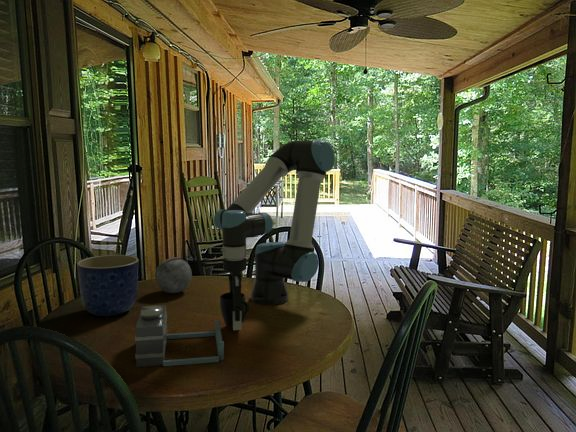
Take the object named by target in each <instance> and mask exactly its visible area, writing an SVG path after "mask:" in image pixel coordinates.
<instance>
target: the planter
mask: <svg viewBox="0 0 576 432" xmlns="http://www.w3.org/2000/svg"><path fill="white" fill-rule="evenodd" d="M139 261H140V260H139V258H138V257H136V256H133V255H128V254H127V255H125V254H107V255H97V256H96V255H95V256H91V257H87V258H84V259H81V260H79V261H78V262H77V263H76V269H77V277H78V282H79V283H78V285H79V290H80V291H79V292H80V293H79V294H80V299H81V303H82V306H83V307H84V309H85V310H86V312H88V313H89V314H91V315H94V316H97V317H114V316H118V315H122V314H123V313H126V312H127V311H129V310H130V309H131V308H132V307H133V306H134V305H135V302H136V299H137V295H138V285H139V282H138V281H139V265H140V264H139Z"/></svg>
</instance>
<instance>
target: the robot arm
mask: <svg viewBox="0 0 576 432" xmlns="http://www.w3.org/2000/svg"><path fill="white" fill-rule="evenodd" d="M335 161H336V159H335V152H334V149H333V147H332V145H331V144H330V143H329V142H328V141H326V140H320V139H313V140H311V139H310V140H291V141H289V142H287V143H285V144H283V145H282V146H280V147H279V148H278V149H277V150H276V151H274V152H273V153H272V154H271V155H270V156H269V158H268V159H267V160H266V164H265V166H264V167H263V168H262V169H261V171H259V173H257V175H256V176H255V177H254V178H253V179H252V180H251V181H250V182H249V184H248V185H247V186H246V187H245V188H244V189H243V190H242V192H240V194H239V195H238V196H237V197H236V198H235V199H234V200H233V201H232V203H231V204H230V205H229V206H228V207H227V208H225V209H224V208H223V209H218V210H217V211H216V212H215V214H214V217H213V222H214V226H215V228H217V230H221V232H222V234H221V235H222V236H221V237H222V248H220V251H221V252H222V257H223V259H222V265H223V266H222V269H223V271H224V272H226V273H229V274H228V284H229V289H228V290H229V291H228V293H229V292H230V294H232V295H233V309H231V311H233V326H232V331H241V330H243V327H242V325H243V323H242V316H241V311H242V299H241V293H242V281H243V278H242V274H241V272H245V271H246V270H247V259H246V257H247V239H248V238H253V237H258V236H264V235H266V234H268V233H270V232H271V231H272V229H273V226H274V221H273V218H272V216H271V215H270V214H269V213H268V212H258V213H254V212H253V211H254V210H255V209H256V208H257V207H258V205H259V204H260V203H261V202H262V201H263V199H264V198H265V197H266V196H267V194H269V192H270V191H271V190H272V189H273V187H275V185H276V184H277V183H278V182H279V181H280V179H281V178H284V177H287V175H288V174H289V173H290V172H293V171H295V174H296V175H297V177H298V182H297V186H296V187H297V189H296V194H295V195H296V196H295V199H294V206H293V207H294V208H293V214H292V220H291V226H290V233H289V239H288V240H287V241H284V242H283V241H272V242H262V243H259V244H257V245H256V247H255V254H254V262H255V263H254V265H255V266H254V267H255V269H254V271H255V272H254V273H255V275H254V276H255V278H254V279H255V280H254V283H253V286H252V289H251V292H250V300H251V301H252V302H253V303H255V304H259V305H269V306H271V305H279V304H283V303H286V302H288V300H289V292H288V289H287V285H286V283H285V279H287V280H292V281H294V282H300V283H306V282H308V281H310V280H311V279H313V277H314V276H315V275H316V273H317V271H318V269H319V263H320V260H319V256H318V254H316V253H315V246H314V244H313V243H312V240H313V235H314V229H315V228H314V227H315V223H316V216H317V209H318V202H319V197H320V196H319V195H320V190H321V183H322V181H323V180H324V179H325V178H327V177H326V176H327V172H331V170H333V168H334V165H335Z"/></svg>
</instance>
